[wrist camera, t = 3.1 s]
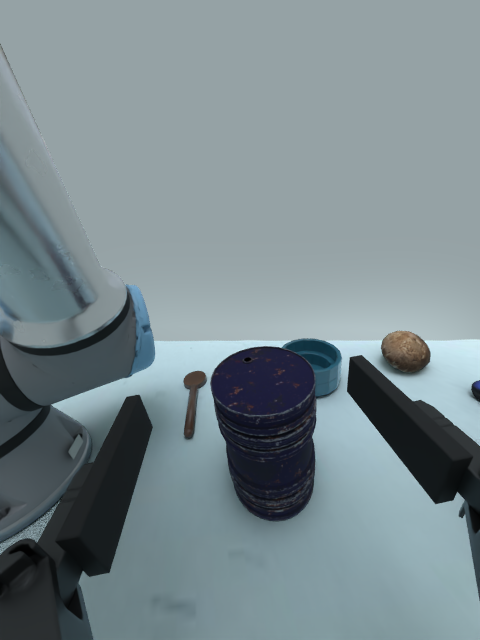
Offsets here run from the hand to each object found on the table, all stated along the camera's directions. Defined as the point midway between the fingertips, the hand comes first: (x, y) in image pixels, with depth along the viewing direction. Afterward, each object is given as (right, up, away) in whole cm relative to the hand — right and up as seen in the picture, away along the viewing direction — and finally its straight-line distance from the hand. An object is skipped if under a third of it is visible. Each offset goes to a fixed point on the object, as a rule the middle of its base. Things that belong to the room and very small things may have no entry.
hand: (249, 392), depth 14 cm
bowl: (+12, -6, +27) cm, 30 cm away
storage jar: (+3, -14, +13) cm, 20 cm away
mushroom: (+29, -4, +27) cm, 40 cm away
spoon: (-9, -10, +26) cm, 29 cm away
